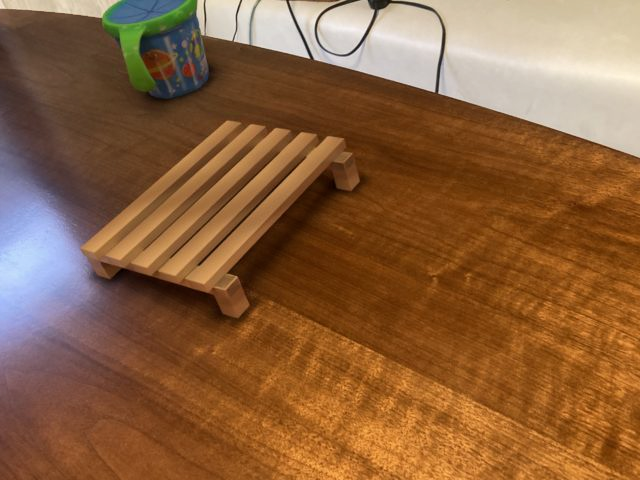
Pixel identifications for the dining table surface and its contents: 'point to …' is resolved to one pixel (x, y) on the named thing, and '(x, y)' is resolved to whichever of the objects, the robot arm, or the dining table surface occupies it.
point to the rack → (216, 208)
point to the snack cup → (159, 45)
